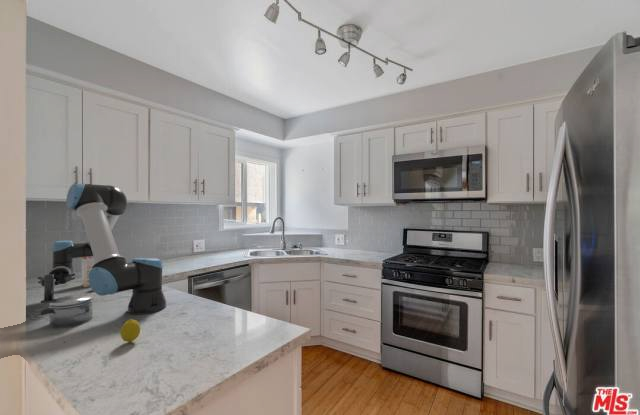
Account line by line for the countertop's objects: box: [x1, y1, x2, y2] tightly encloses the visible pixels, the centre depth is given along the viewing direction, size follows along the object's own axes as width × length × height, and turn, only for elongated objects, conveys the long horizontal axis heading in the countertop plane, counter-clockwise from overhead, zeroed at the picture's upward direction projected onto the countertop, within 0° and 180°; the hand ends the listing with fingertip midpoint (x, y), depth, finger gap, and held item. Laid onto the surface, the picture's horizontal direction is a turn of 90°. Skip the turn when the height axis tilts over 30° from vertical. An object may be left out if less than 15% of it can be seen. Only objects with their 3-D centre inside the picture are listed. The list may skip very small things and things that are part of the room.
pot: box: [37, 298, 94, 329], centre depth 114 cm, size 16×14×8 cm
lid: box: [40, 273, 94, 307], centre depth 115 cm, size 17×13×11 cm
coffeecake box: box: [81, 256, 95, 288], centre depth 176 cm, size 15×7×20 cm, turn 144°
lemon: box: [120, 318, 141, 344], centre depth 97 cm, size 6×6×8 cm
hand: (50, 285), depth 118 cm, fingers closed
